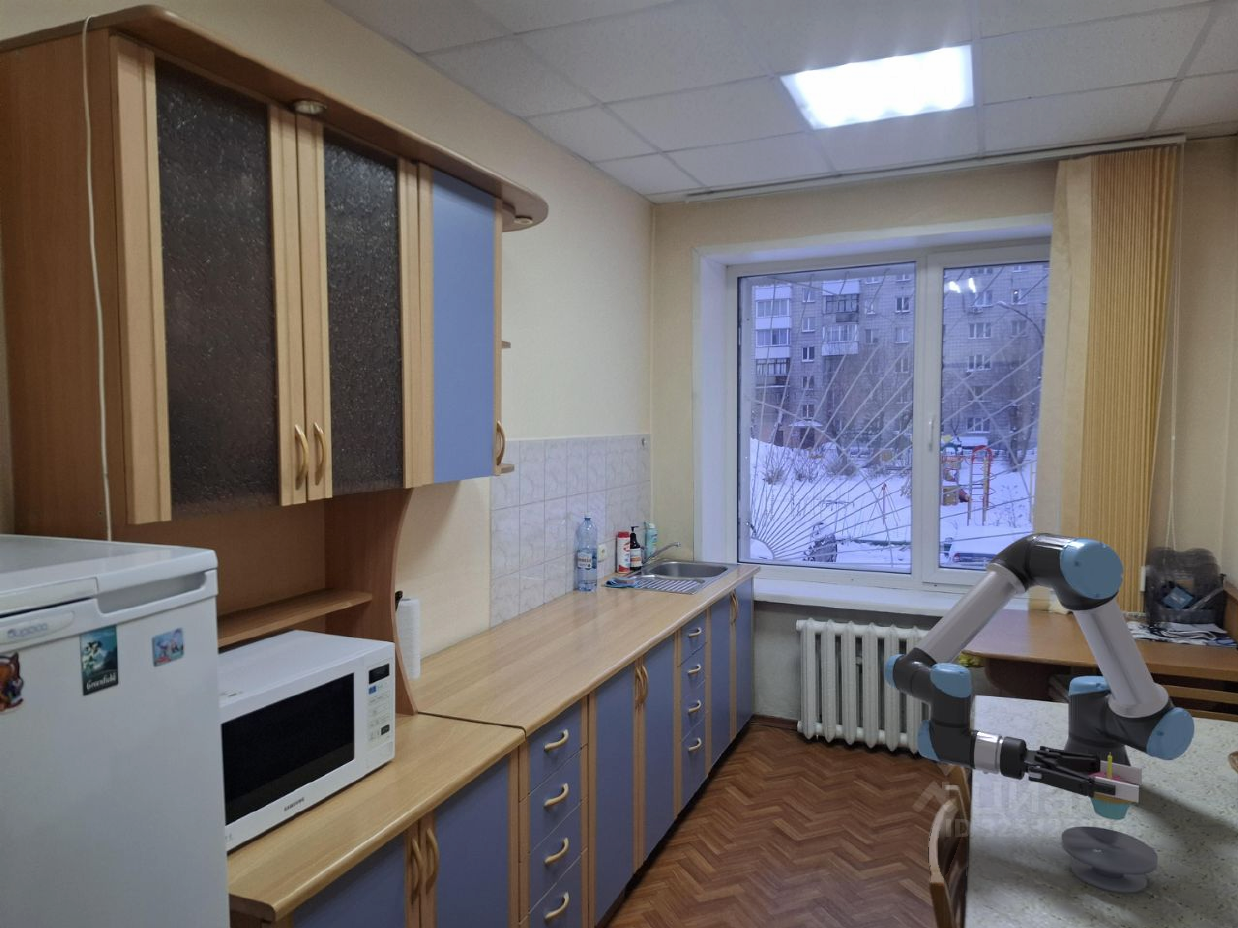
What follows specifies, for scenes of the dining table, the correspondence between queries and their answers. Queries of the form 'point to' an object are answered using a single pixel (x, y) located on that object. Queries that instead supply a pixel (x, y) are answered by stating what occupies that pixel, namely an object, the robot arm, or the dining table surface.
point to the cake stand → (1109, 859)
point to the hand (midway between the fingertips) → (1140, 785)
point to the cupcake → (1108, 804)
